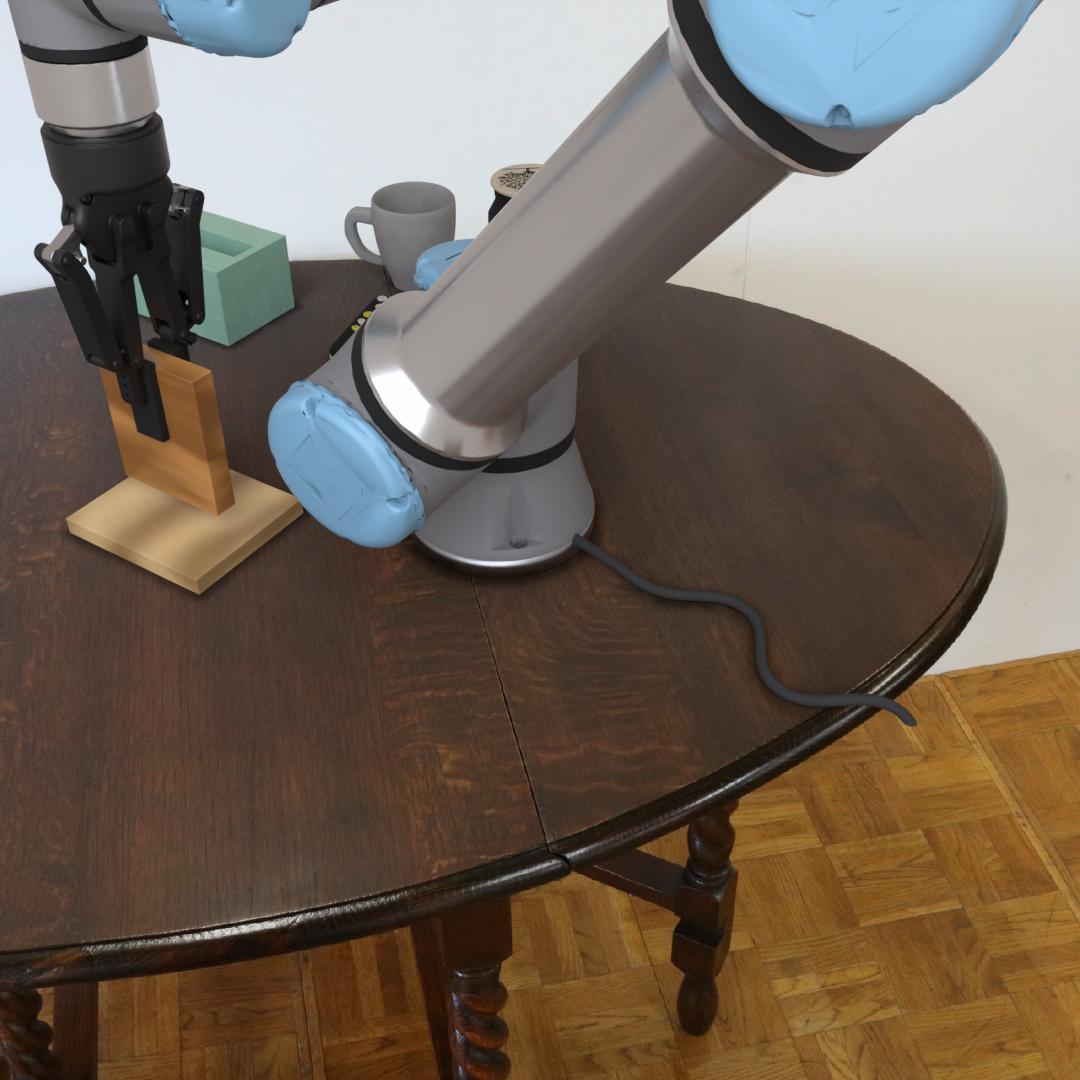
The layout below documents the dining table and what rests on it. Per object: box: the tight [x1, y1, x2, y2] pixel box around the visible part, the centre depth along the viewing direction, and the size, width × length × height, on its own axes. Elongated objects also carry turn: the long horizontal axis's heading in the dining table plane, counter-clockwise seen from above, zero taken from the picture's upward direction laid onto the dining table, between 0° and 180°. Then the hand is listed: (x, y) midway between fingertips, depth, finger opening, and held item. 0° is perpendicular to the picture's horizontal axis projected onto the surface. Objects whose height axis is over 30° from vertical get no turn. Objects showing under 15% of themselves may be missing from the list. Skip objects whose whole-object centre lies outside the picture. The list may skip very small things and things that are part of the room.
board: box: [65, 468, 304, 596], centre depth 95 cm, size 14×12×2 cm
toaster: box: [134, 209, 295, 347], centre depth 122 cm, size 10×16×8 cm, turn 59°
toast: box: [98, 343, 235, 516], centre depth 90 cm, size 2×10×12 cm, turn 58°
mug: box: [343, 181, 457, 292], centre depth 127 cm, size 12×9×10 cm
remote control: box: [328, 295, 390, 360], centre depth 119 cm, size 6×13×2 cm, turn 163°
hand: (166, 426), depth 90 cm, fingers closed on toast, 2 cm apart
